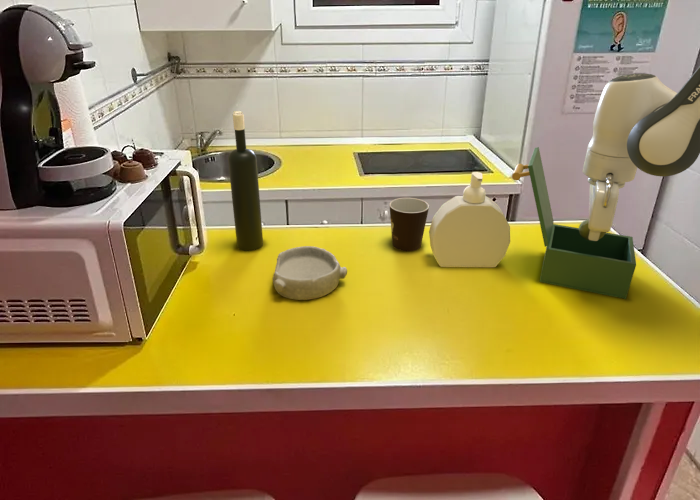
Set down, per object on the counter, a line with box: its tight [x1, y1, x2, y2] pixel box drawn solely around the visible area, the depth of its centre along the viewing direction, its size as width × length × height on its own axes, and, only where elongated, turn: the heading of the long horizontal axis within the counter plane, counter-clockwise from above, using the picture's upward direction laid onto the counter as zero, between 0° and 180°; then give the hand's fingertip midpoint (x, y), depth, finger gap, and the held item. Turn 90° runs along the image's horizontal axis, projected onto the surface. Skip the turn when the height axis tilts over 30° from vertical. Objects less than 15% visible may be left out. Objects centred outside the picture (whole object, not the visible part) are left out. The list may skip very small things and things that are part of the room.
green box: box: [539, 223, 637, 300], centre depth 104 cm, size 16×13×8 cm
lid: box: [511, 146, 555, 247], centre depth 103 cm, size 16×13×5 cm
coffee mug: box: [388, 197, 430, 252], centre depth 116 cm, size 12×9×10 cm
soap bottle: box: [428, 171, 511, 268], centre depth 106 cm, size 16×5×20 cm, turn 90°
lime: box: [578, 218, 607, 241], centre depth 101 cm, size 4×5×5 cm
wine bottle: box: [227, 110, 264, 252], centre depth 109 cm, size 6×6×30 cm
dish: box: [272, 245, 348, 301], centre depth 101 cm, size 14×14×5 cm
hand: (592, 233), depth 101 cm, fingers closed on lime, 3 cm apart
